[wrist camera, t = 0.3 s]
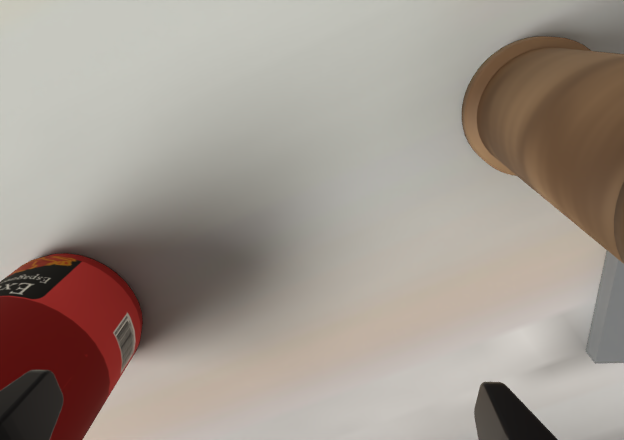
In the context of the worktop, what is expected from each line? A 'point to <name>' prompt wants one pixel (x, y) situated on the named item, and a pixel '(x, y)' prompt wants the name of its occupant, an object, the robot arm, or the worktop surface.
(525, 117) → the mill
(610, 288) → the panel
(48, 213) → the worktop surface
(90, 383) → the canned food
